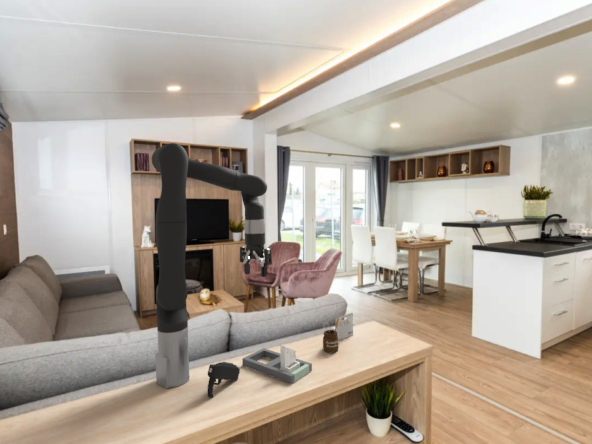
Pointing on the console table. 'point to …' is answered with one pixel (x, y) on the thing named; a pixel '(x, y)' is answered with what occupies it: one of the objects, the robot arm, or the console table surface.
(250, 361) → the port panel
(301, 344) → the console table surface
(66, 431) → the console table surface
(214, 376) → the gun
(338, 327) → the ink cartridge box
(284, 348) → the white wedge bracket
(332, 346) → the utensil holder
